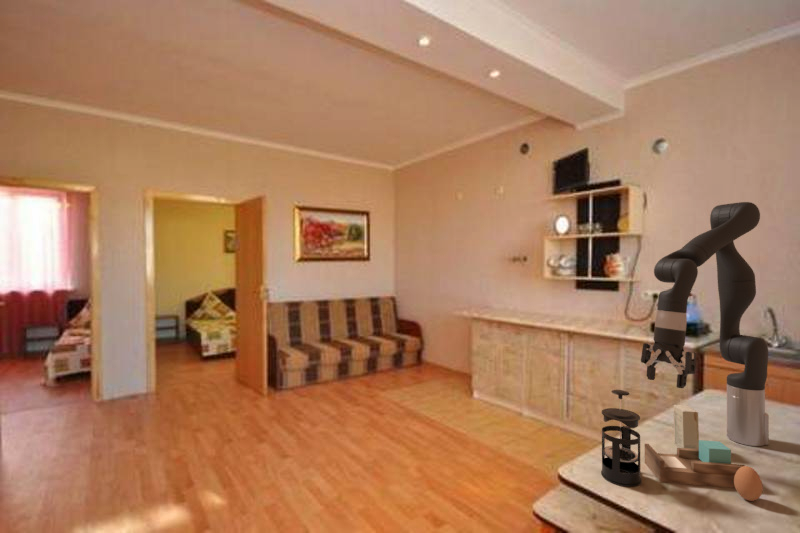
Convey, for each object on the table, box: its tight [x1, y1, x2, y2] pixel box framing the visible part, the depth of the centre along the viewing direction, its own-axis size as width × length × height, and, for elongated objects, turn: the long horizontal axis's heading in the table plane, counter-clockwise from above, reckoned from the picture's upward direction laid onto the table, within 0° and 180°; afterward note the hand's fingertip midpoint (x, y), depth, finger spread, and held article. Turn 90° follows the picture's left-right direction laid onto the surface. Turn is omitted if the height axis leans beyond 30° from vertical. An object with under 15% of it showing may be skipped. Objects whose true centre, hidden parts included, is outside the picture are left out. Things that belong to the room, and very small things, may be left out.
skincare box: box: [673, 404, 700, 449], centre depth 123 cm, size 6×4×12 cm
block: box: [699, 439, 732, 464], centre depth 107 cm, size 5×5×5 cm
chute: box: [644, 443, 746, 489], centre depth 108 cm, size 20×10×6 cm, turn 79°
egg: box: [734, 465, 763, 502], centre depth 96 cm, size 5×5×8 cm
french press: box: [600, 389, 642, 488], centre depth 107 cm, size 12×9×23 cm
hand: (665, 383), depth 116 cm, fingers open, 8 cm apart
